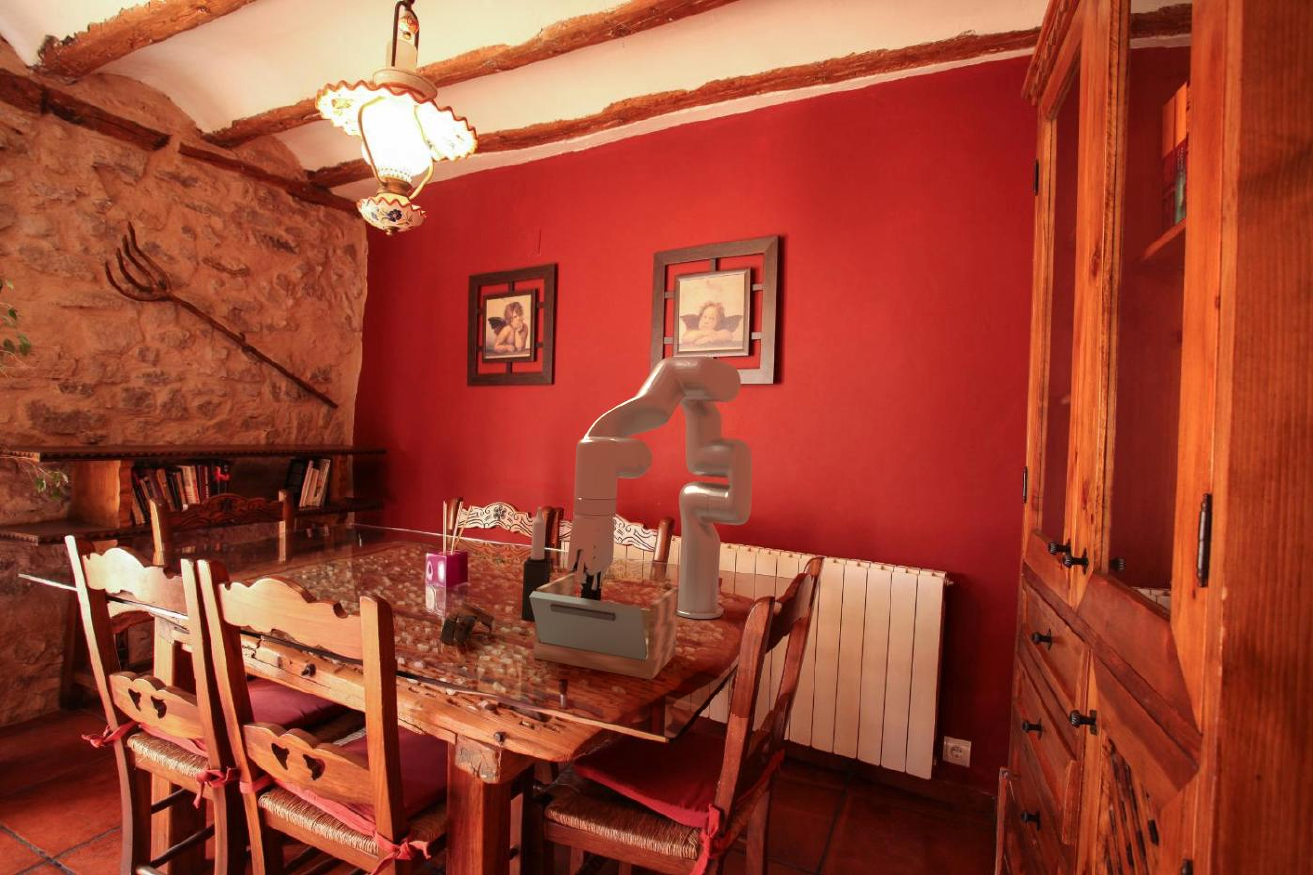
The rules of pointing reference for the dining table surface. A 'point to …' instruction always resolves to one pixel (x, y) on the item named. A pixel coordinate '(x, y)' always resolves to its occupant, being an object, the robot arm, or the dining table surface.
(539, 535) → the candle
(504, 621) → the dining table surface
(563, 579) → the wooden tray crate
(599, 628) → the panel
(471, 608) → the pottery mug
